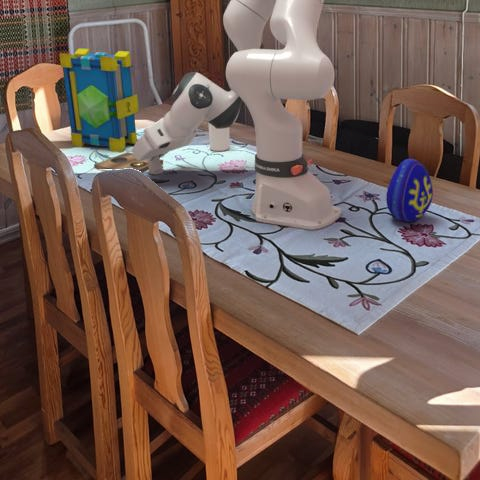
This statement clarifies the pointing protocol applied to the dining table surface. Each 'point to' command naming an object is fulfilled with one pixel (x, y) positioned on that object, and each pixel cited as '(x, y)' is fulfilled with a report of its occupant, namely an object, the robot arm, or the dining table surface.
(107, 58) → the decorative book
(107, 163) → the gauge board
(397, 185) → the ornament
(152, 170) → the white chess piece
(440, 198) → the dining table surface
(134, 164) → the brass bolt head
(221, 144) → the can
